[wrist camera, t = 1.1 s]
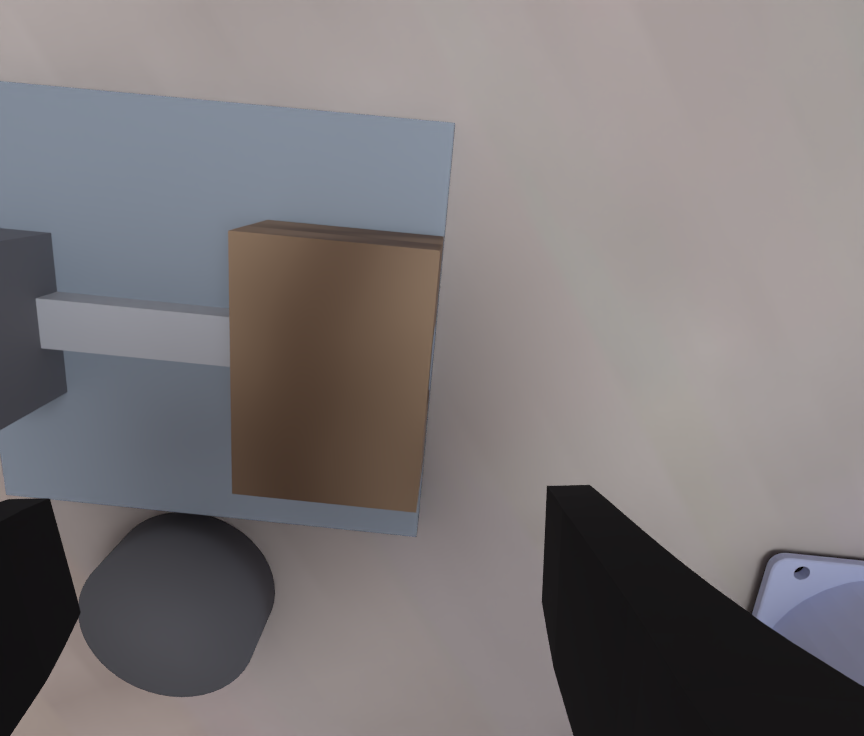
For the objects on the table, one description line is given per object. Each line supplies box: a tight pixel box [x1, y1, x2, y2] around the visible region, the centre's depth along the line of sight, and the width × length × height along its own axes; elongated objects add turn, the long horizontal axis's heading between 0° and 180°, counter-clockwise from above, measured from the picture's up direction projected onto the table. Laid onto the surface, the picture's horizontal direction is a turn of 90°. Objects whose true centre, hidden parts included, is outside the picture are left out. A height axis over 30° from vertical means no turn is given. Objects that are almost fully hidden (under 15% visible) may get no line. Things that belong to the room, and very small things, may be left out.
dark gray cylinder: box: [78, 513, 275, 697], centre depth 22 cm, size 6×6×2 cm
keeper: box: [228, 220, 444, 513], centre depth 17 cm, size 5×7×3 cm
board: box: [0, 81, 455, 537], centre depth 18 cm, size 14×13×4 cm
